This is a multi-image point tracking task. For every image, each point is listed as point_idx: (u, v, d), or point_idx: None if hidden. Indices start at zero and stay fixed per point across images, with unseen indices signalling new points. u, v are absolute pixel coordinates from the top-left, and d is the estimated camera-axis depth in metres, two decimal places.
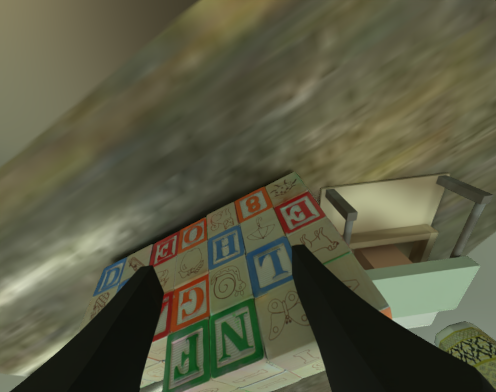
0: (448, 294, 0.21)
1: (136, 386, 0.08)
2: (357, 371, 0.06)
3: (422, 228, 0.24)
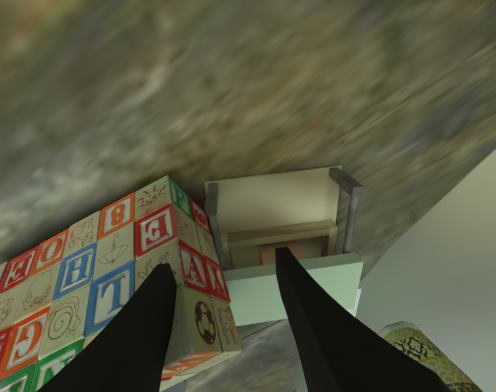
0: (339, 293, 0.20)
1: (157, 383, 0.08)
2: (325, 376, 0.06)
3: (323, 224, 0.22)
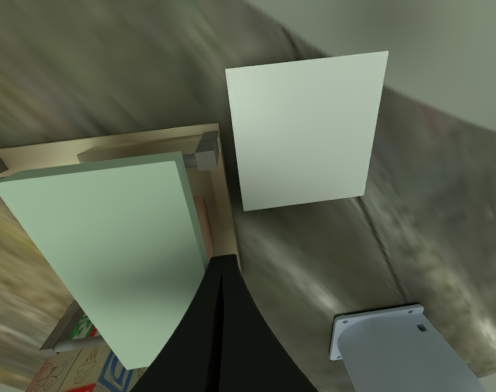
0: (117, 211, 0.08)
1: None
2: None
3: None
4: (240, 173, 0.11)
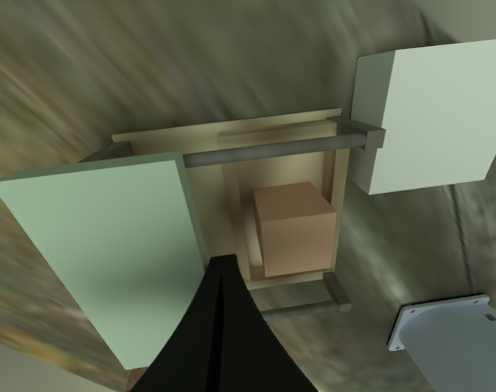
0: (117, 211, 0.08)
1: None
2: None
3: None
4: (377, 156, 0.11)
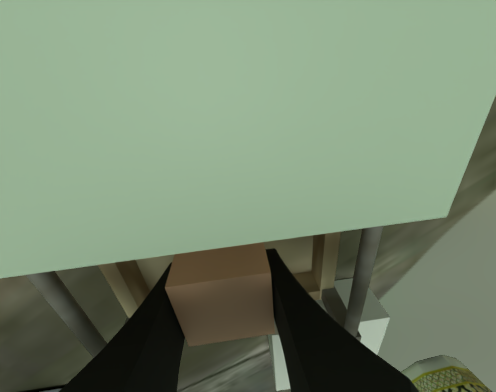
0: (406, 115, 0.04)
1: (174, 380, 0.08)
2: (301, 380, 0.06)
3: None
4: None
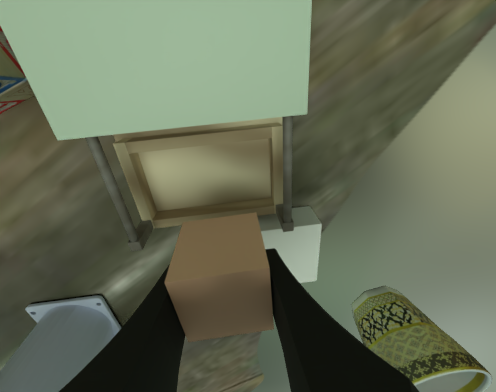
0: (273, 57, 0.10)
1: (174, 380, 0.08)
2: (301, 380, 0.06)
3: (266, 125, 0.16)
4: (267, 231, 0.18)
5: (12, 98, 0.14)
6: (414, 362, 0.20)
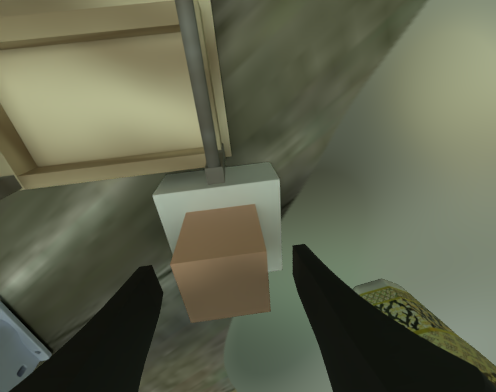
0: None
1: (134, 386, 0.08)
2: (359, 371, 0.06)
3: None
4: (195, 191, 0.12)
5: None
6: None
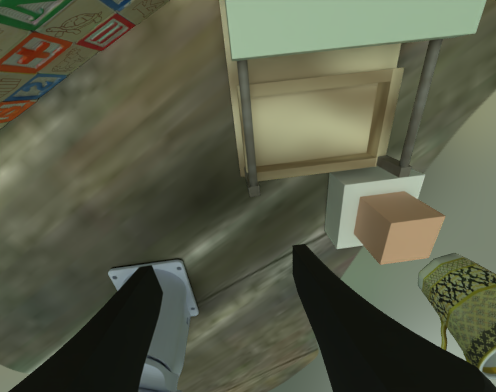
0: None
1: (135, 386, 0.08)
2: (359, 371, 0.06)
3: None
4: (371, 182, 0.18)
5: (132, 15, 0.13)
6: None
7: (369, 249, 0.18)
